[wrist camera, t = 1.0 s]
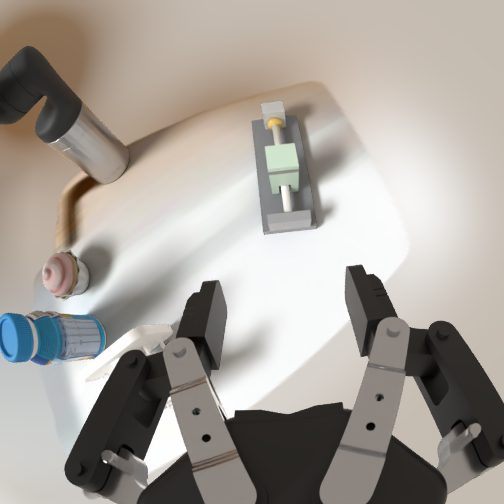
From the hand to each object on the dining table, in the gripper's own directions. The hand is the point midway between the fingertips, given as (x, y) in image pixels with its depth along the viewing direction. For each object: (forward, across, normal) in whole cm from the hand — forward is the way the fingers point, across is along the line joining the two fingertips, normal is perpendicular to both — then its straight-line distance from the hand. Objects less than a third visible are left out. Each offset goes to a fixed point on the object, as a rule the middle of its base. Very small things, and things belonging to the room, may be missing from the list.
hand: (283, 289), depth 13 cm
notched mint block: (+32, -1, +6) cm, 32 cm away
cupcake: (+25, +39, +15) cm, 49 cm away
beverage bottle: (+18, +36, +23) cm, 46 cm away
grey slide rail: (+36, -1, +4) cm, 36 cm away
